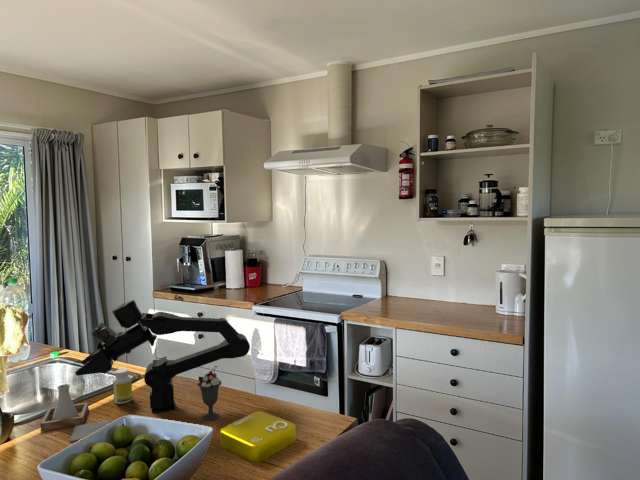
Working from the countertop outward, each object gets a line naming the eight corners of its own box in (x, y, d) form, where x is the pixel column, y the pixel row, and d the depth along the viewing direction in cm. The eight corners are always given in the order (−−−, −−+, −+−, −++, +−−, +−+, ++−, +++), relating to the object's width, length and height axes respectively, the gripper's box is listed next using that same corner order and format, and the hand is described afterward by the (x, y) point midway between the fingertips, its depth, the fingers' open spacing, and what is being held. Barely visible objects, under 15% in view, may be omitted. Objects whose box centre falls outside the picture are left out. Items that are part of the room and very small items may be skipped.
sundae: (227, 416, 138) (225, 366, 137) (207, 424, 133) (205, 372, 132) (214, 409, 143) (212, 361, 141) (194, 417, 138) (192, 367, 136)
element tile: (259, 424, 134) (259, 407, 133) (299, 440, 124) (298, 422, 124) (216, 446, 122) (216, 428, 122) (257, 465, 113) (256, 446, 112)
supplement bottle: (136, 399, 152) (134, 369, 151) (121, 405, 147) (119, 374, 146) (125, 395, 154) (123, 366, 154) (110, 402, 150) (108, 371, 149)
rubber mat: (110, 421, 136) (110, 420, 136) (107, 436, 128) (107, 434, 128) (75, 427, 133) (75, 425, 133) (69, 442, 125) (69, 440, 125)
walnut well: (88, 408, 145) (88, 402, 145) (83, 424, 135) (82, 417, 135) (49, 414, 142) (48, 408, 142) (40, 430, 132) (40, 423, 131)
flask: (73, 411, 143) (71, 379, 143) (84, 418, 139) (82, 385, 138) (47, 420, 138) (44, 387, 137) (57, 427, 133) (55, 393, 132)
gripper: (119, 310, 148) (70, 336, 145) (110, 325, 130) (55, 355, 127) (137, 340, 150) (90, 366, 147) (132, 358, 133) (78, 389, 129)
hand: (79, 368), depth 138 cm, fingers open, 9 cm apart
